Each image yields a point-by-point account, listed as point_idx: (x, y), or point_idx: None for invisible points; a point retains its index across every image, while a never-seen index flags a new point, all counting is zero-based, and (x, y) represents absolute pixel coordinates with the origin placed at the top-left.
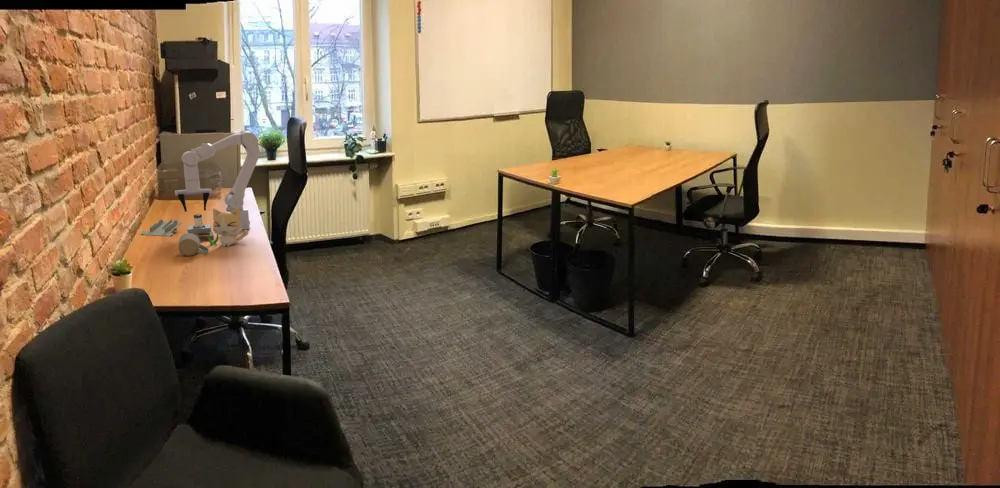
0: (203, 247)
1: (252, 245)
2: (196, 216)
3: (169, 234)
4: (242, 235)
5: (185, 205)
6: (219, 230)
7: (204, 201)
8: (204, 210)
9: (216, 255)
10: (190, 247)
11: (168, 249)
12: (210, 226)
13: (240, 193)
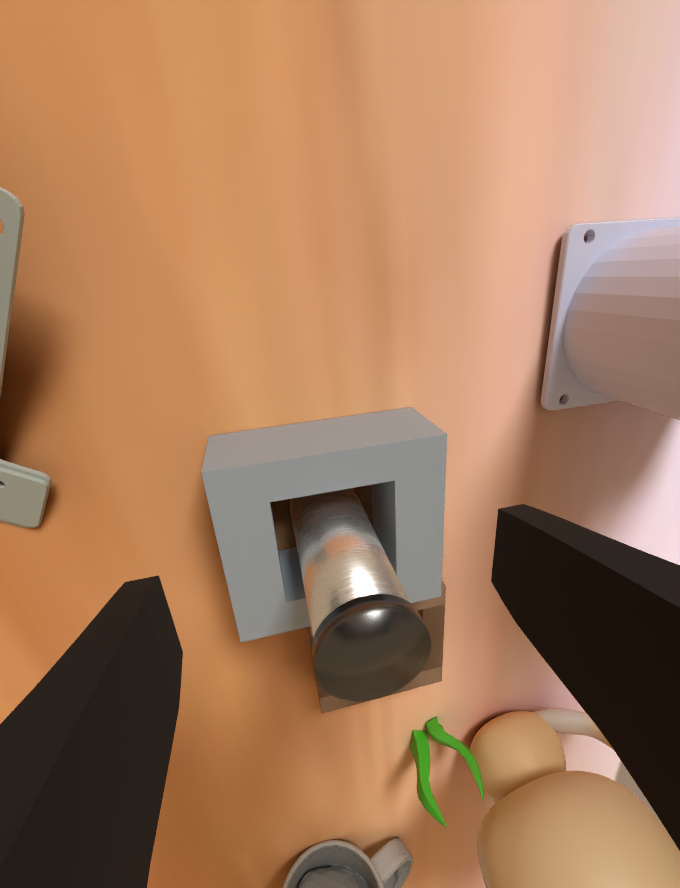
0: (391, 861)
1: (592, 738)
2: (360, 695)
3: (13, 505)
4: (600, 740)
5: (146, 811)
6: None
7: (668, 797)
8: (498, 582)
9: (436, 862)
10: None
11: (185, 826)
12: (440, 504)
13: None
